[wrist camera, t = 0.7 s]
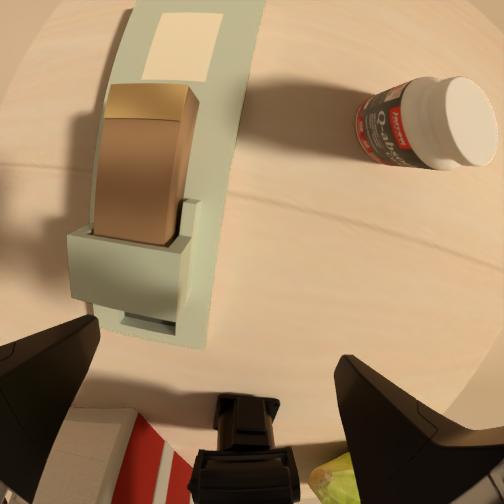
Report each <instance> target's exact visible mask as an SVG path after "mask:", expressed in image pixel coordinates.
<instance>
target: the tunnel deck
mask: <svg viewBox="0 0 504 504" xmlns="http://www.w3.org/2000/svg"><path fill="white" fill-rule="evenodd" d="M265 1H266V0H137V2H136V4H135V6H134V9H133V11H132V13H131V16H130V18H129V21H128V23H127V26H126V28H125V31H124V34H123V37H122V39H121V42H120V45H119V48H118V51H117V54H116V58H115V61H114V64H113V68H112V71H111V75H110V78H109V82H108V86H107V90H106V94H105V99H104V103H103V108H102V113H101V118H100V123H99V129H98V135H97V141H96V148H95V155H94V164H93V173H92V184H91V198H90V223H89V224H88V225H86V226H84V227H82V228H79V229H77V230H75V231H73V232H71V233H69V234H67V253H68V268H69V280H70V289H71V297H72V298H74V299H77V300H81V301H84V302H88V303H92V304H93V310H94V316H96V317H97V318H98V320H99V328H102V329H106V330H110V331H113V332H117V333H121V334H125V335H129V336H133V337H138V338H142V339H147V340H151V341H156V342H161V343H166V344H171V345H176V346H181V347H187V348H193V349H199V350H205V346H206V340H207V331H208V323H209V314H210V306H211V298H212V291H213V283H214V276H215V268H216V261H217V254H218V247H219V241H220V234H221V227H222V221H223V214H224V208H225V202H226V196H227V190H228V184H229V178H230V172H231V166H232V161H233V155H234V150H235V144H236V139H237V133H238V128H239V123H240V118H241V112H242V107H243V102H244V97H245V92H246V88H247V83H248V78H249V73H250V69H251V64H252V59H253V55H254V50H255V46H256V42H257V37H258V33H259V29H260V25H261V20H262V16H263V12H264V7H265ZM128 83H166V84H187V85H189V87H190V88H191V90H192V91H193V93H194V94H195V96H196V97H197V99H198V100H199V102H200V104H199V109H198V114H197V119H196V124H195V129H194V134H193V140H192V146H191V151H190V157H189V164H188V170H187V177H186V183H185V191H184V198H183V206H182V214H181V222H180V231H179V236H178V237H177V238H176V240H175V241H174V242H173V243H172V244H171V245H170V247H169V248H166V247H159V246H153V245H147V244H141V243H135V242H129V241H123V240H117V239H111V238H105V237H99V236H94V208H95V191H96V179H97V169H98V160H99V153H100V146H101V139H102V133H103V127H104V121H105V118H104V113H105V108H106V103H107V99H108V94H109V90H110V86H111V84H128Z"/></svg>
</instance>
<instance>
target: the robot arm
mask: <svg viewBox="0 0 504 504" xmlns="http://www.w3.org/2000/svg"><path fill="white" fill-rule="evenodd" d="M99 341H100V328H99V320H98V318H97V317H96V316H93V315H89V314H87V315H84V316H82V317H79V318H76V319H73V320H71V321H68V322H65V323H63V324H60V325H57V326H55V327H52V328H49V329H46V330H44V331H41V332H38V333H36V334H33V335H30V336H27V337H25V338H22V339H19V340H17V341H16V342H15V341H14V342H11V343H8V344H6V345H3V346H0V504H7V501H6V498H5V495H6V493H7V491H8V490H10V491H11V492H12V493H14V494H15V495H17V496H18V497H20V498H21V499H23V500H24V501H26V502H27V503H29V504H32V503H33V501H34V497H35V494H36V491H37V488H38V485H39V482H40V479H41V476H42V473H43V471H44V468H45V465H46V463H47V460H48V457H49V454H50V452H51V449H52V447H53V444H54V442H55V440H56V437H57V435H58V433H59V430H60V428H61V426H62V423H63V421H64V419H65V417H66V415H67V413H68V410H69V408H70V406H71V404H72V402H73V400H74V398H75V396H76V394H77V392H78V390H79V388H80V386H81V384H82V382H83V380H84V378H85V376H86V374H87V372H88V369H89V367H90V364H91V361H92V359H93V356H94V354H95V351H96V349H97V346H98V344H99ZM334 381H335V388H336V395H337V402H338V408H339V413H340V417H341V421H342V425H343V428H344V432H345V436H346V441H347V445H348V449H349V453H350V457H351V461H352V466H353V470H354V475H355V479H356V484H357V488H358V493H359V498H360V503H361V504H504V426H502V427H497V428H491V429H484V430H471V429H467V428H465V427H463V426H461V425H459V424H457V423H456V422H454V421H452V420H450V419H448V418H446V417H444V416H443V415H441V414H439V413H437V412H436V411H434V410H432V409H431V408H429V407H428V406H426V405H425V404H423V403H422V402H420V401H419V400H416V398H414V397H413V396H411V395H410V394H408V393H407V392H405V391H404V390H402V389H401V388H399V387H398V386H397V385H395V384H394V383H392V382H391V381H389V380H388V379H386V378H385V377H383V376H382V375H381V374H379V373H378V372H376V371H375V370H373V369H372V368H371V367H369V366H368V365H366V364H365V363H364V362H362V361H361V360H359V359H358V358H356V357H355V356H354V355H342V356H341V358H340V360H339V362H338V364H337V366H336V369H335V371H334ZM279 407H280V401H279V400H278V399H264V398H250V397H240V396H230V395H219V396H218V399H217V405H216V411H215V418H214V424H213V429H214V430H217V431H218V438H217V451H208V450H202V449H199V452H198V456H196V459H195V463H194V467H193V471H192V475H191V478H190V480H189V482H188V485H187V490H188V491H189V492H190V493H191V494H192V498H193V502H194V504H293V503H295V502H299V501H300V482H299V476H298V471H297V467H296V464H295V460H294V456H293V452H292V448H291V446H287V447H285V448H276V449H275V443H274V435H273V427H272V423H273V421H274V419H275V416H276V414H277V411H278V409H279Z"/></svg>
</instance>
